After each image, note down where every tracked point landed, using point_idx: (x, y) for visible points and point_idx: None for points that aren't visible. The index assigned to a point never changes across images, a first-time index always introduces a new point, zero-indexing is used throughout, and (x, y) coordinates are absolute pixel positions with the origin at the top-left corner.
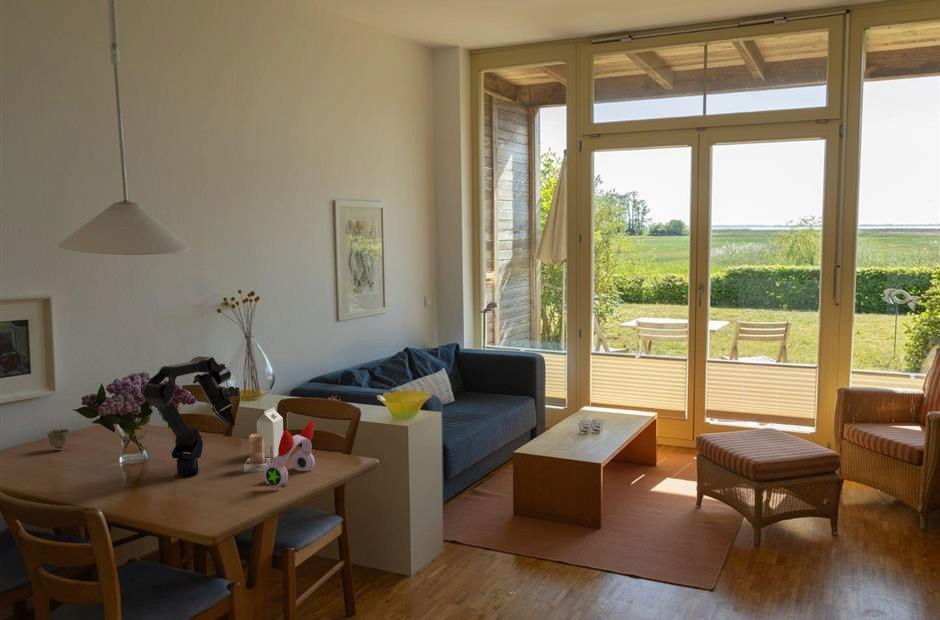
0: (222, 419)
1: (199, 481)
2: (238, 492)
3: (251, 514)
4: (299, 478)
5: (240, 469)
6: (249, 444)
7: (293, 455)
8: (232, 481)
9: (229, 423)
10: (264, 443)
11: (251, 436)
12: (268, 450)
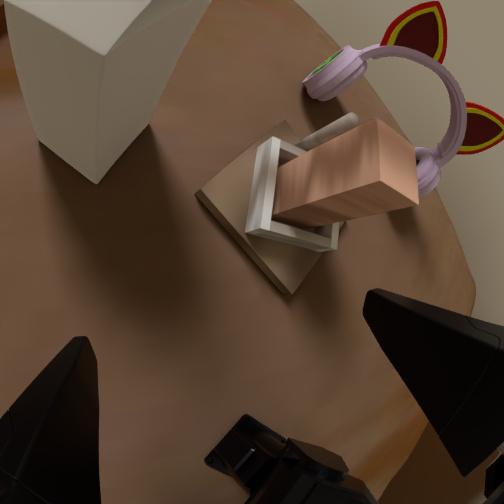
0: (99, 489)
1: (318, 390)
2: (403, 266)
3: (455, 243)
4: (346, 113)
5: (288, 265)
6: (388, 210)
7: (341, 81)
8: (343, 288)
9: (93, 385)
10: (130, 116)
11: (411, 190)
12: (141, 118)
